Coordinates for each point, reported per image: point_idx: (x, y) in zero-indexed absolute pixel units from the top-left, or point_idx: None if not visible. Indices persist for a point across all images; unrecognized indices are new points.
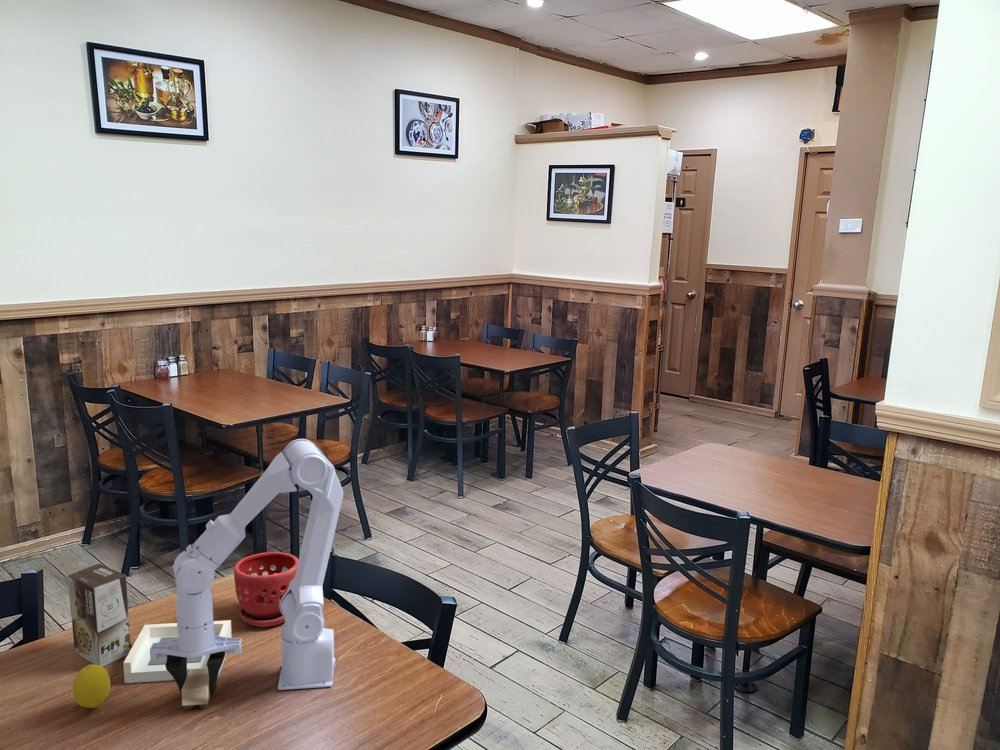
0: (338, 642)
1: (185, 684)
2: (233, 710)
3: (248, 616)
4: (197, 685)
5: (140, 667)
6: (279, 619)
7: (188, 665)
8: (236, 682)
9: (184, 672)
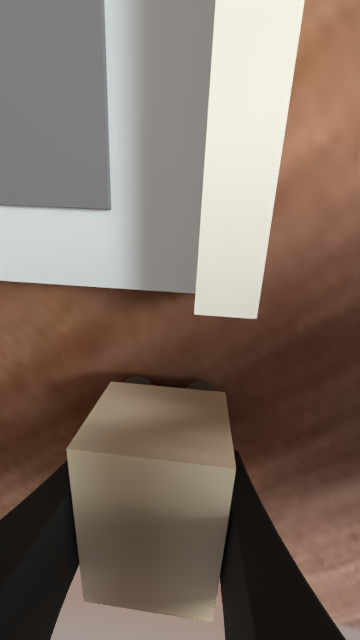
0: None
1: (90, 572)
2: (303, 508)
3: None
4: (158, 596)
5: None
6: None
7: (43, 240)
8: (323, 343)
9: (41, 595)
